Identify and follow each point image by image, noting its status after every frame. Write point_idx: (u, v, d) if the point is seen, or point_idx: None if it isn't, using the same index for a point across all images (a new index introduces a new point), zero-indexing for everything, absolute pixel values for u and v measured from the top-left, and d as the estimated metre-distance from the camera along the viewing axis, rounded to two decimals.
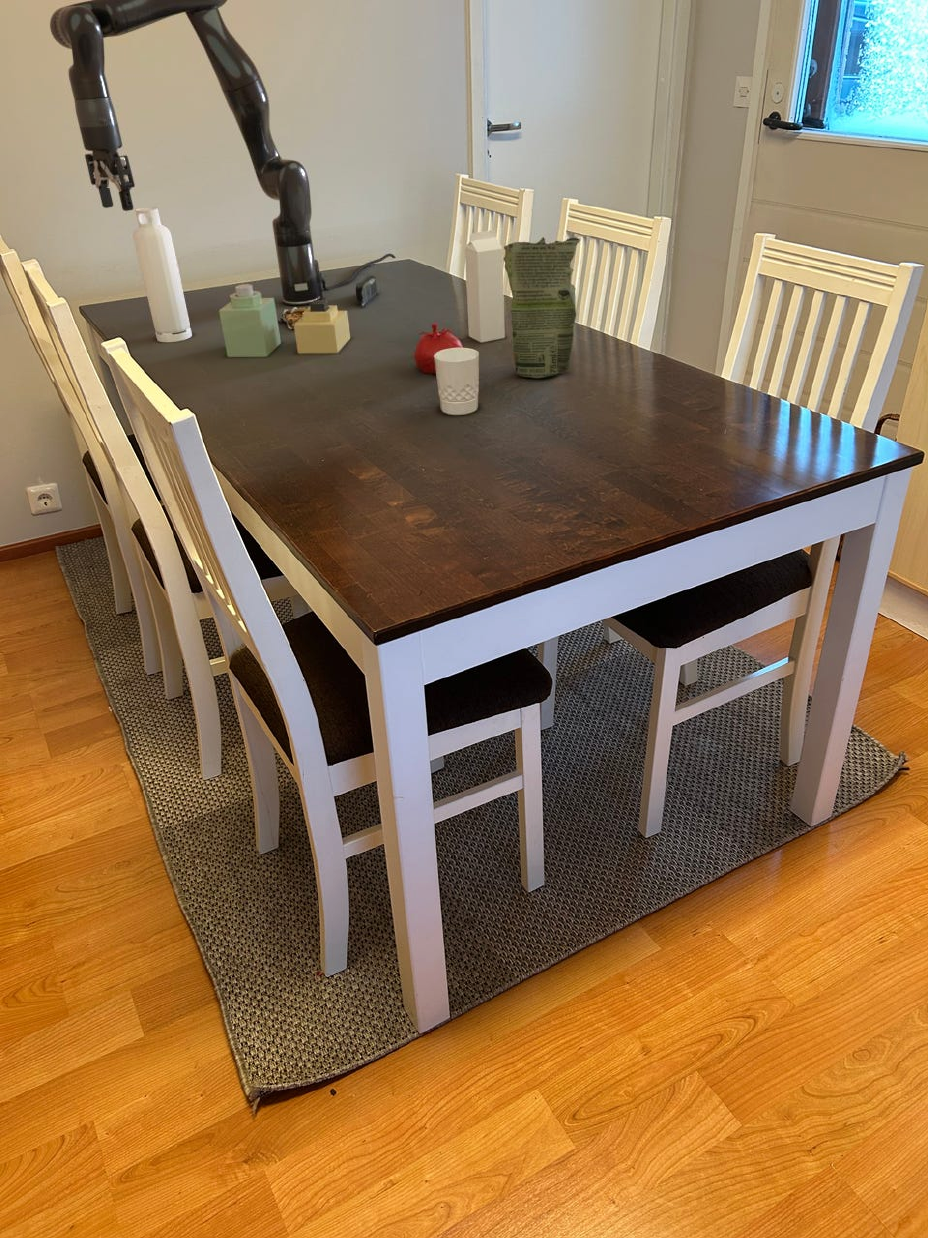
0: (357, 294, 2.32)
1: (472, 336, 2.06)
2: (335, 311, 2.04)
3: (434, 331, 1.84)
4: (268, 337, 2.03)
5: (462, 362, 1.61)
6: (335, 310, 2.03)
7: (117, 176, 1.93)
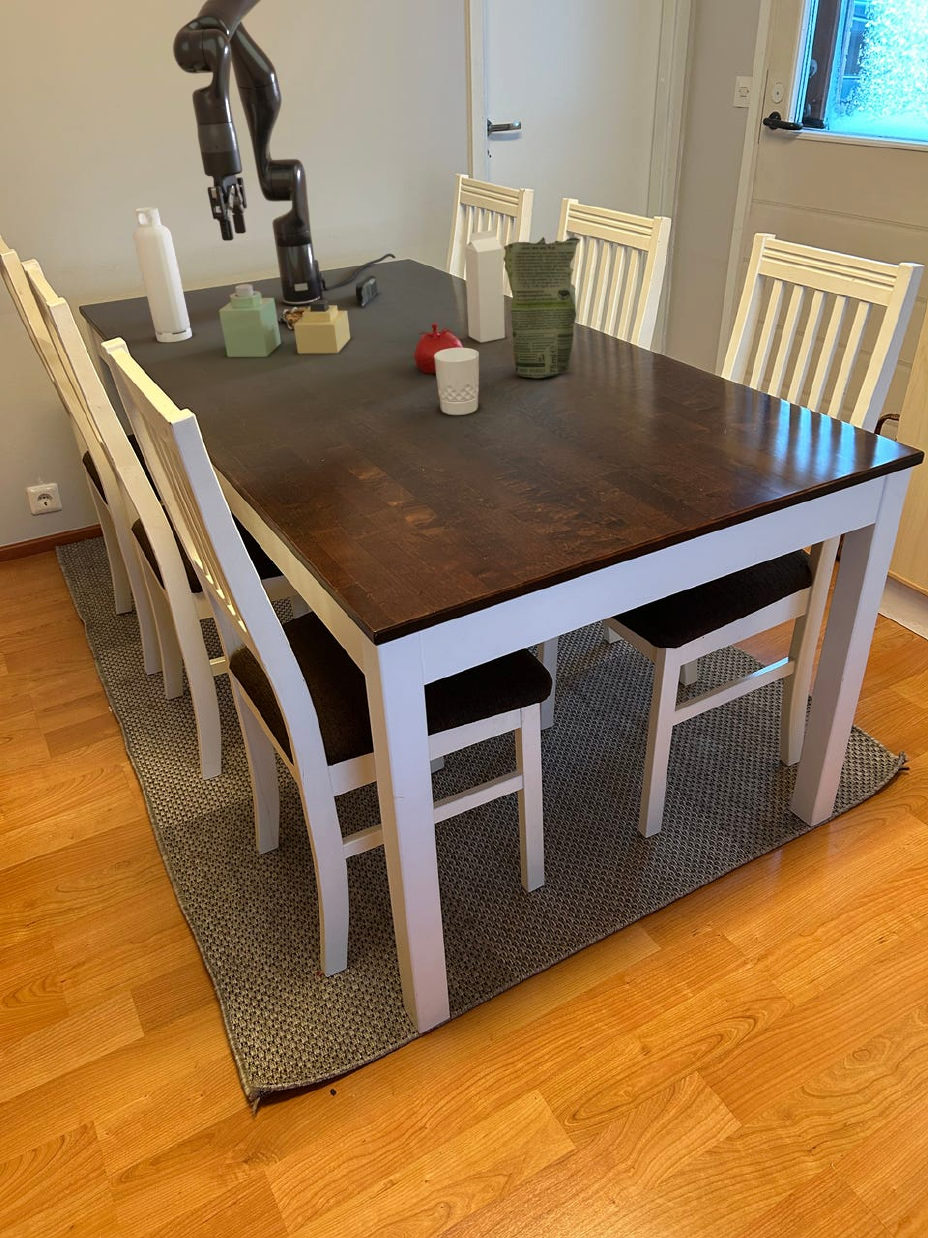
0: (357, 294, 2.32)
1: (472, 336, 2.06)
2: (335, 311, 2.04)
3: (434, 331, 1.84)
4: (268, 337, 2.03)
5: (462, 362, 1.61)
6: (335, 310, 2.03)
7: None
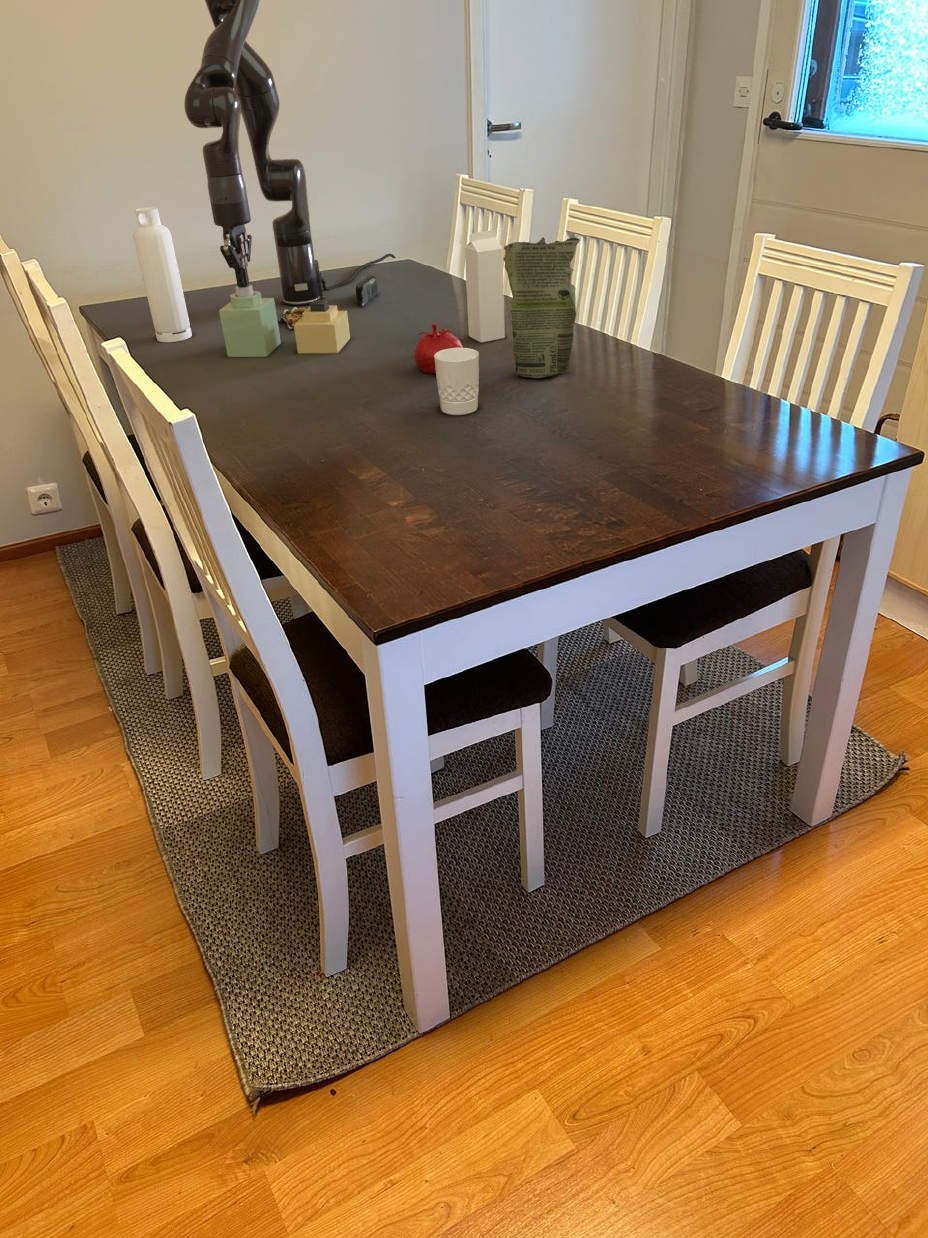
0: (357, 294, 2.32)
1: (472, 336, 2.06)
2: (335, 311, 2.04)
3: (434, 331, 1.84)
4: (268, 337, 2.03)
5: (462, 362, 1.61)
6: (335, 310, 2.03)
7: None
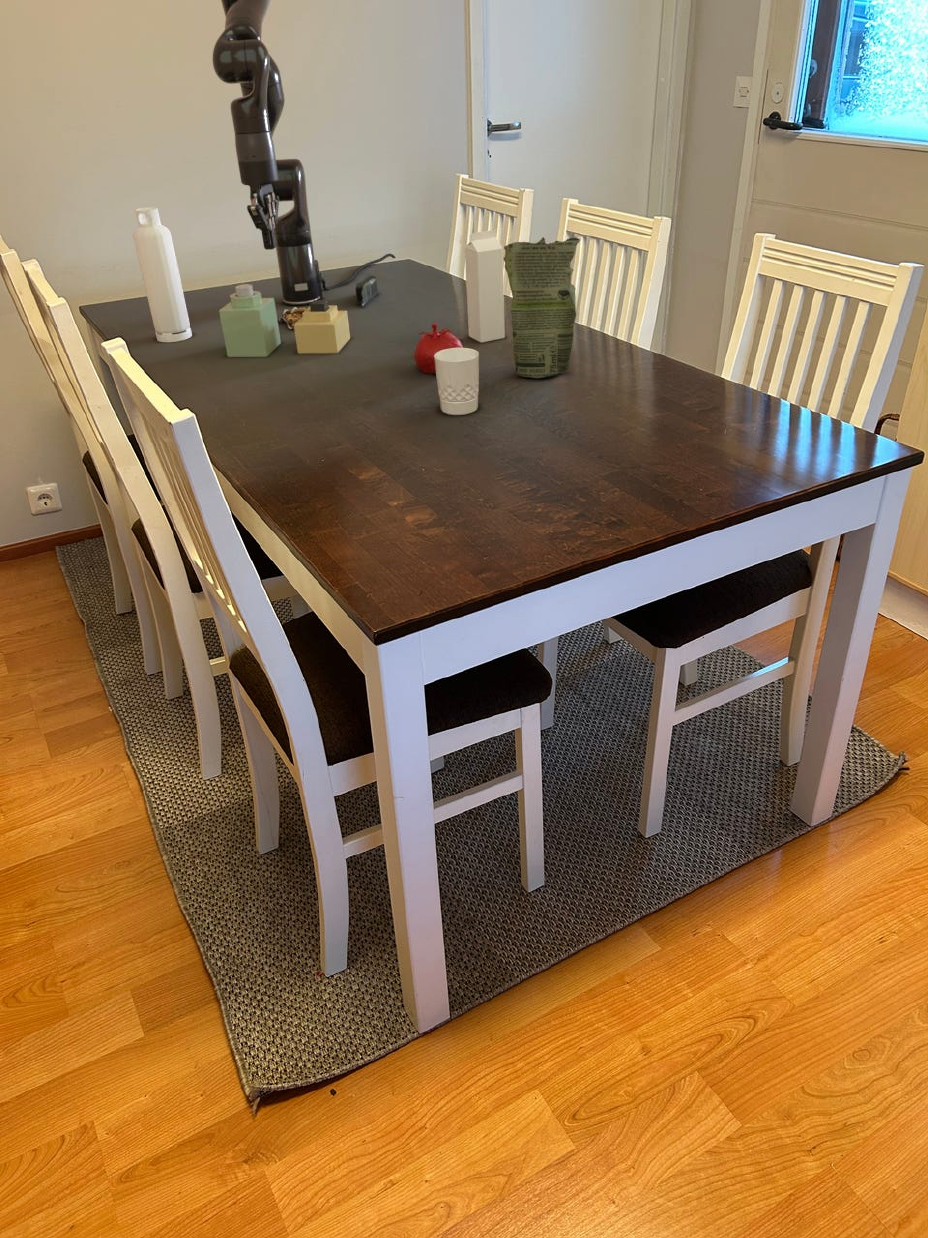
0: (357, 294, 2.32)
1: (472, 336, 2.06)
2: (335, 311, 2.04)
3: (434, 331, 1.84)
4: (268, 337, 2.03)
5: (462, 362, 1.61)
6: (335, 310, 2.03)
7: None
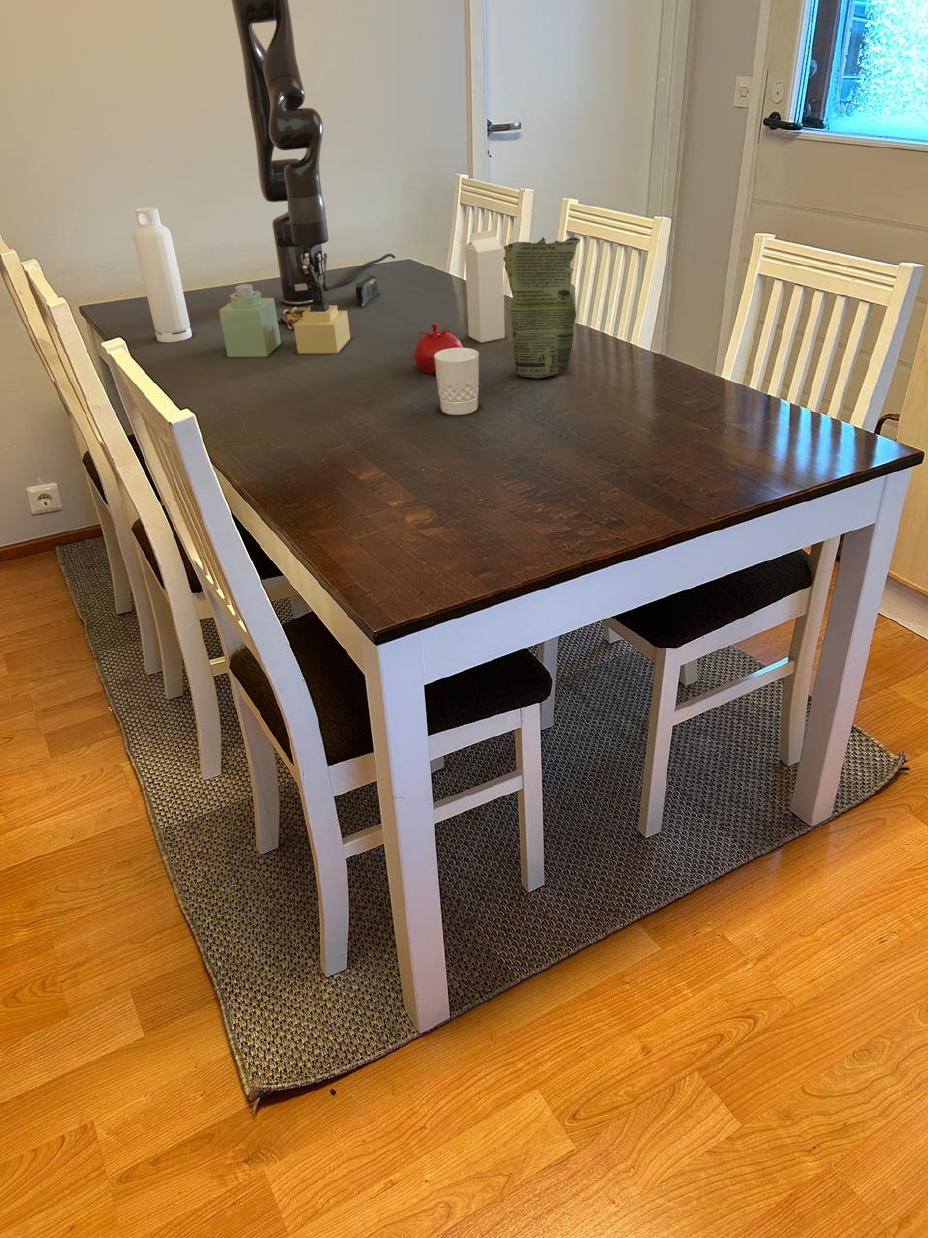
0: (357, 294, 2.32)
1: (472, 336, 2.06)
2: (335, 311, 2.04)
3: (434, 331, 1.84)
4: (268, 337, 2.03)
5: (462, 362, 1.61)
6: (335, 310, 2.03)
7: None
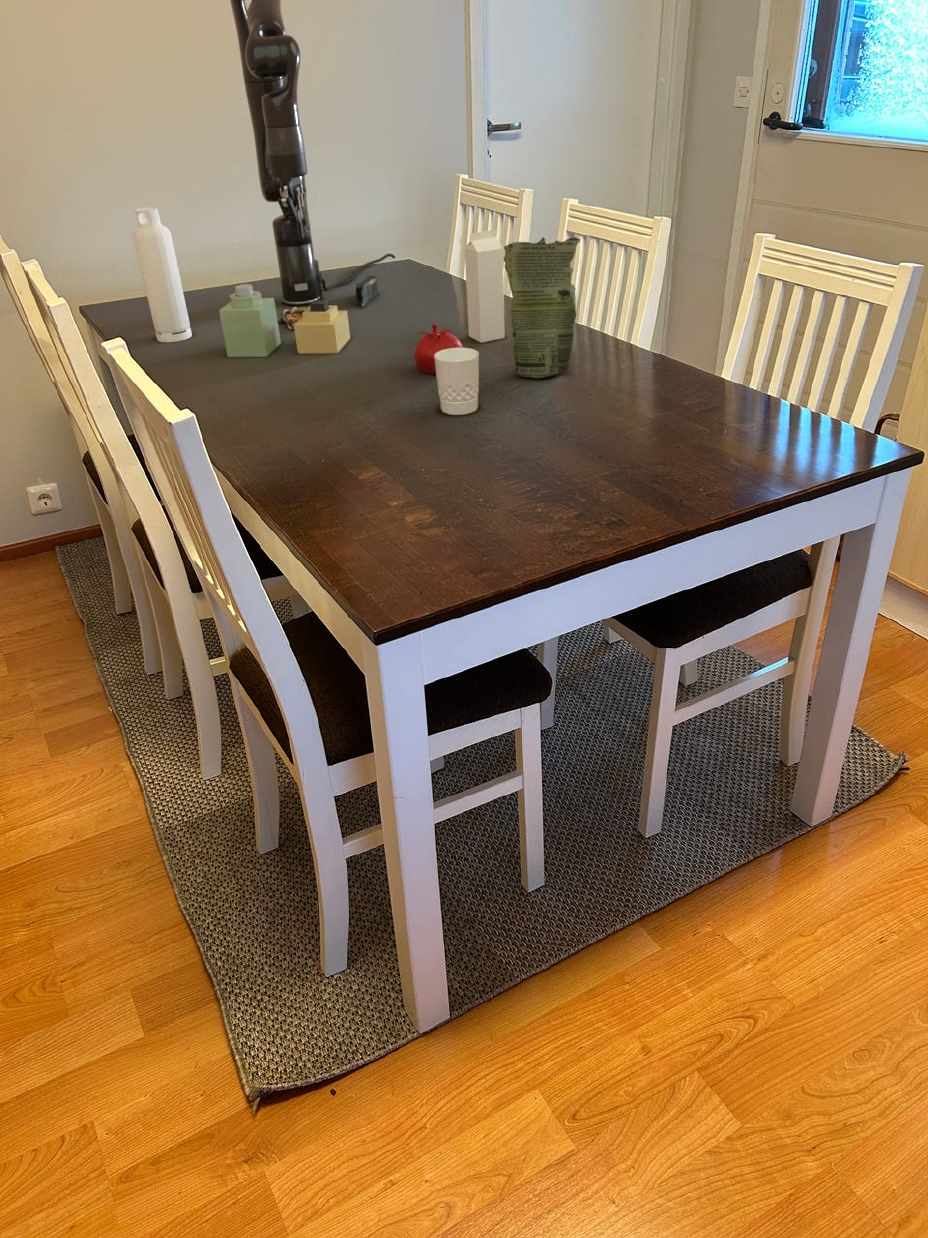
0: (357, 294, 2.32)
1: (472, 336, 2.06)
2: (335, 311, 2.04)
3: (434, 331, 1.84)
4: (268, 337, 2.03)
5: (462, 362, 1.61)
6: (335, 310, 2.03)
7: None
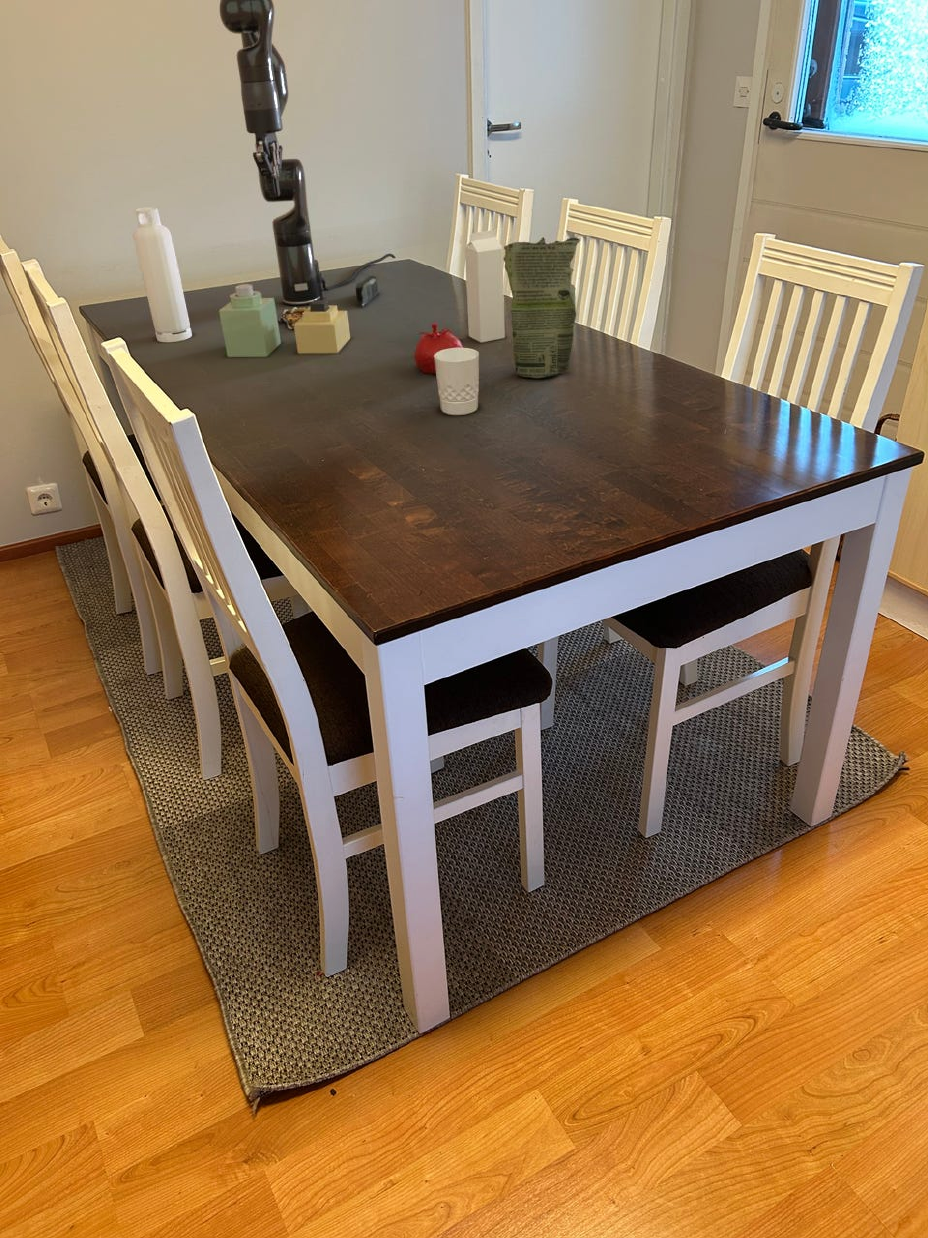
0: (357, 294, 2.32)
1: (472, 336, 2.06)
2: (335, 311, 2.04)
3: (434, 331, 1.84)
4: (268, 337, 2.03)
5: (462, 362, 1.61)
6: (335, 310, 2.03)
7: None
